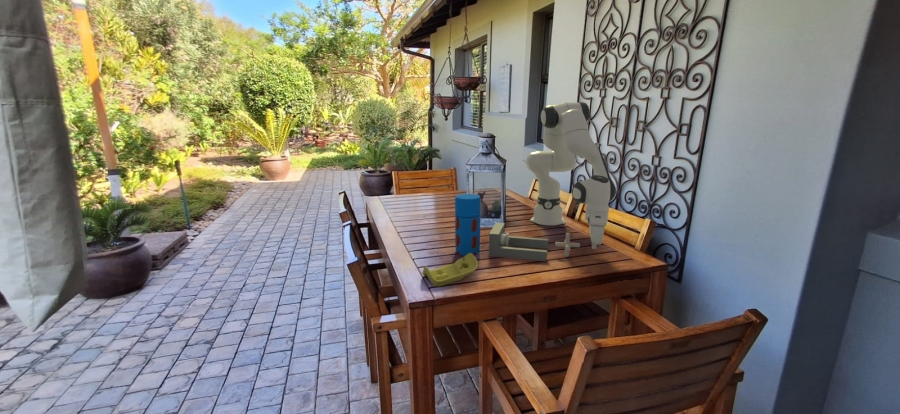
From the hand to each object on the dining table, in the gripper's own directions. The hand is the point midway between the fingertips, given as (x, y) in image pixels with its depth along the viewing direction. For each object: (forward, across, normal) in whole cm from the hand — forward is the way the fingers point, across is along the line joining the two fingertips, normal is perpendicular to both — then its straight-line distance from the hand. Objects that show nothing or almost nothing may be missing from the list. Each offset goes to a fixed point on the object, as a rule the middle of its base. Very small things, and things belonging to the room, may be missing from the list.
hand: (593, 247), depth 166 cm
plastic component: (+5, +34, -52) cm, 63 cm away
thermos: (+5, +6, -53) cm, 53 cm away
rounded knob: (+3, 0, -39) cm, 39 cm away
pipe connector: (+5, 0, -11) cm, 12 cm away
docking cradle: (+5, 0, -31) cm, 31 cm away
